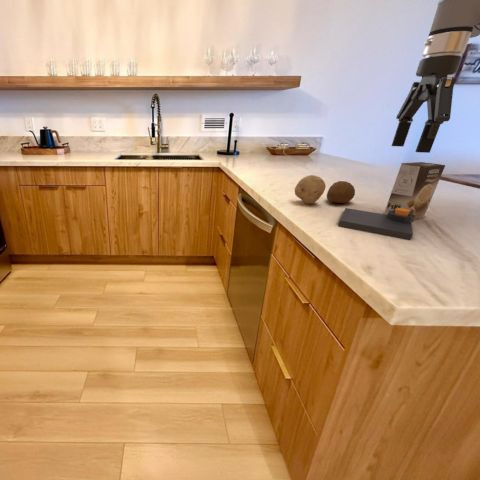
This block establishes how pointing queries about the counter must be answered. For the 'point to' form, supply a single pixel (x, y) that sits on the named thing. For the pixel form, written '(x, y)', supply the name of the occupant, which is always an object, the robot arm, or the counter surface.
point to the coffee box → (415, 187)
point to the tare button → (402, 211)
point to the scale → (378, 223)
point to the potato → (341, 192)
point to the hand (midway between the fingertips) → (408, 149)
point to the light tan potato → (310, 189)
